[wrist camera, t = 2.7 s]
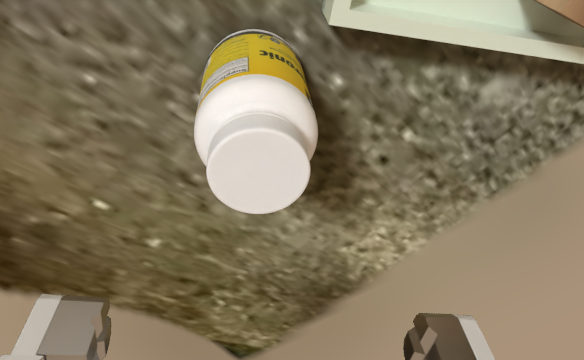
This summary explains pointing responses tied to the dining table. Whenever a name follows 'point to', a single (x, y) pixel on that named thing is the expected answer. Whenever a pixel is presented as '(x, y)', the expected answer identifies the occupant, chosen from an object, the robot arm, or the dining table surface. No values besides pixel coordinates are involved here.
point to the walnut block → (566, 9)
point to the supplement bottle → (255, 123)
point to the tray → (467, 24)
